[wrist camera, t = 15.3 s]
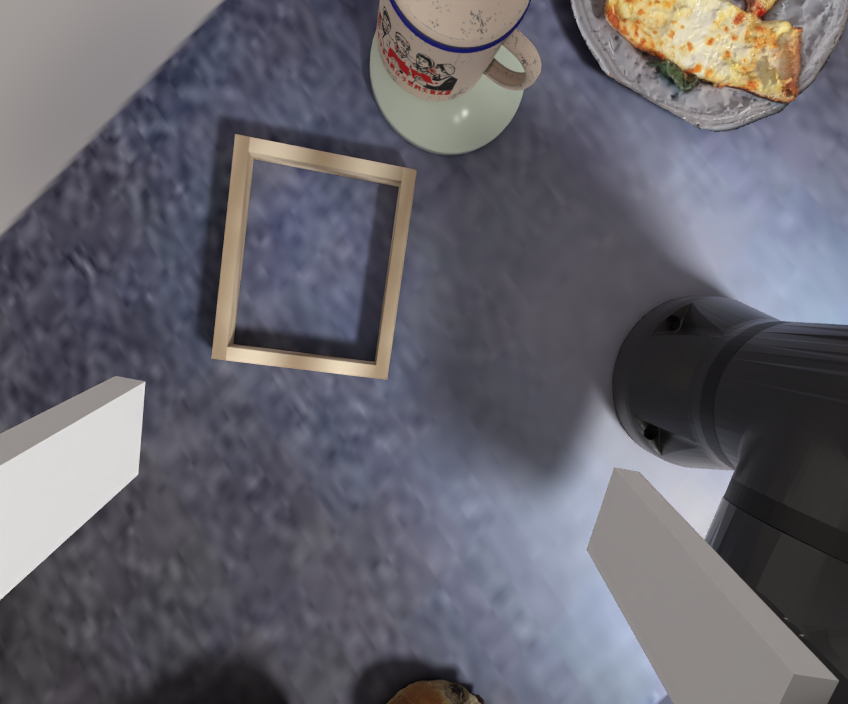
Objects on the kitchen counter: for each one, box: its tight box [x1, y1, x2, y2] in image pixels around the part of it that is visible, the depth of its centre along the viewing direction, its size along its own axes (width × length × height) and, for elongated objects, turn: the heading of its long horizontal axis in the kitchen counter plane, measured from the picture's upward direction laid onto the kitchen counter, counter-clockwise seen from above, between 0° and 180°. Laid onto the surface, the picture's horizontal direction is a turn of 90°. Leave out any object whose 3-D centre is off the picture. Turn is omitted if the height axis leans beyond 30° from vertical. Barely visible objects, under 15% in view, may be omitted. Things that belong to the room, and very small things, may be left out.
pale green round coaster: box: [369, 29, 525, 155], centre depth 37 cm, size 12×12×1 cm
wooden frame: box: [211, 134, 417, 380], centre depth 37 cm, size 13×16×2 cm
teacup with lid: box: [376, 0, 541, 101], centre depth 31 cm, size 12×9×12 cm
